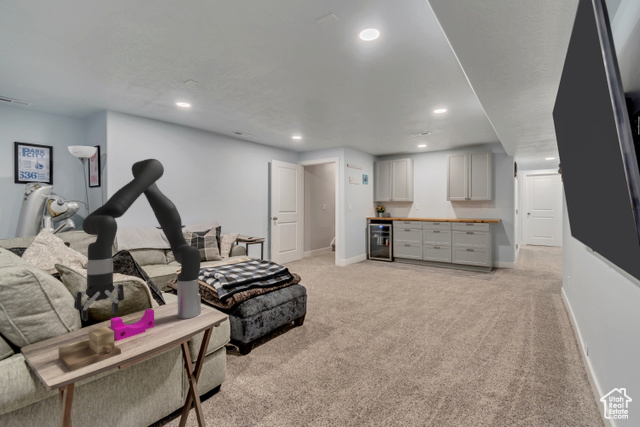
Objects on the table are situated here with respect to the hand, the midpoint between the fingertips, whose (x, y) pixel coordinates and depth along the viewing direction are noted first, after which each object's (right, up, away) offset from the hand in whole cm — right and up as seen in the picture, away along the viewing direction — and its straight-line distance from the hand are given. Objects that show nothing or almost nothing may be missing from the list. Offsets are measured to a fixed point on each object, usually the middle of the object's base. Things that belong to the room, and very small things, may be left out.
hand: (100, 316), depth 106 cm
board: (-1, -13, -3) cm, 13 cm away
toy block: (+2, -13, +17) cm, 21 cm away
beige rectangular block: (+2, -11, -1) cm, 11 cm away
